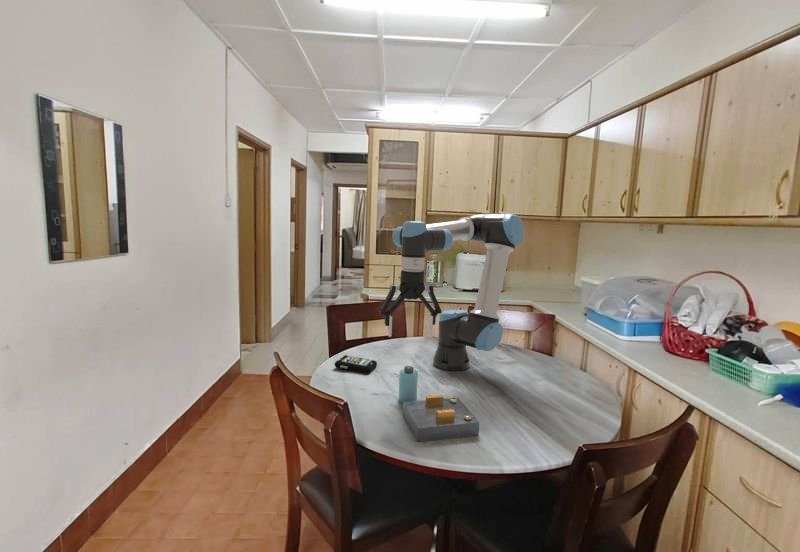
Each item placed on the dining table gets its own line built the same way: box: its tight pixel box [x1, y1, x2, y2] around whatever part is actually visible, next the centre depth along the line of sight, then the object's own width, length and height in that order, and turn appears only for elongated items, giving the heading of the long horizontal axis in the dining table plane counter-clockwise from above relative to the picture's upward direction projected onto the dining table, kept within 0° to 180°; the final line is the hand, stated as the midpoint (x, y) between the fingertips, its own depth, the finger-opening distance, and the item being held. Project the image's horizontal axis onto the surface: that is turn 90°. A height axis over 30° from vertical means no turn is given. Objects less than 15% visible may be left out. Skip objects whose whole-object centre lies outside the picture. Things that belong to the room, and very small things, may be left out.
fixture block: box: [402, 394, 480, 443], centre depth 119 cm, size 18×16×6 cm
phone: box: [334, 354, 378, 375], centre depth 162 cm, size 11×15×4 cm
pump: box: [398, 365, 419, 405], centre depth 134 cm, size 6×6×12 cm
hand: (409, 335), depth 131 cm, fingers open, 13 cm apart
